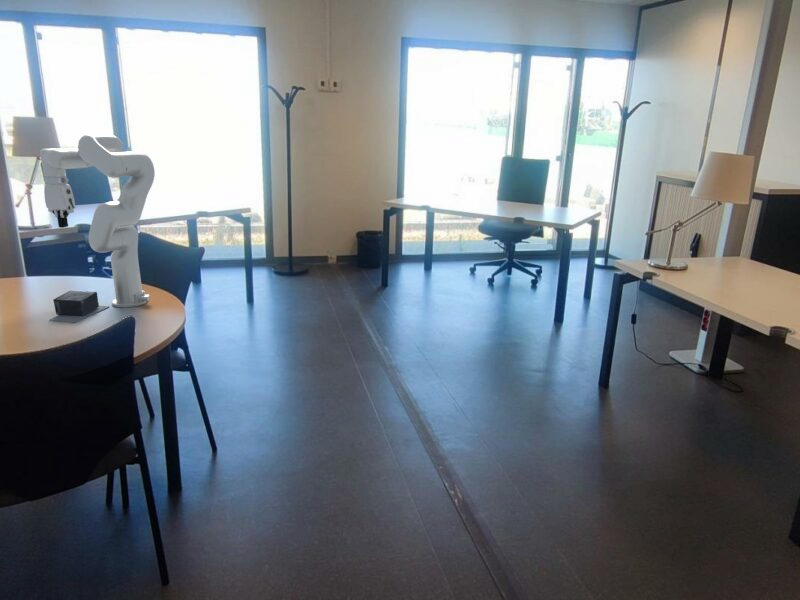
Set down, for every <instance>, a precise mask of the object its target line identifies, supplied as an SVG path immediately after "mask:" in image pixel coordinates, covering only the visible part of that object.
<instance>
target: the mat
mask: <svg viewBox="0 0 800 600" xmlns="http://www.w3.org/2000/svg"><path fill="white" fill-rule="evenodd" d="M109 308H110V306H109V305H99V307H97V308H96V309H94V310H92V311H91V312H89V313H88V314H86V315H84V316H74V315H56V316H54V317H51V318H49V319H48V321H49V322H50V321H51V322H59V323H69V324H76V323H79V322H81V321H83V320H84V319H87V318H90V317H91V316H94V315H96V314H98V313H100V312H102V311H105V310H107V309H109Z"/></svg>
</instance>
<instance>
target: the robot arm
mask: <svg viewBox="0 0 800 600" xmlns="http://www.w3.org/2000/svg"><path fill="white" fill-rule="evenodd" d="M77 145H78V146H77V148H51V147H50V148H49V147H48V148H42V149H40V152H39V155H40V161H41V166H42V172H43V179H44V188H43V189H44V190H43V191H44V192H43V193H44V202H45V207H46V208H47V210H48V212H50V213H52V214H53V215H54V216H55V218H57V225H58V228H62V229H63V228H67V227H69V223H68V217H69V215H70V214H73V213H74V212H75V211H74V210H75V209H76V202H75V197H74V193H73V190H72V186H71V185H70V184H68V183H69V178H68V177H67V172H66V170H69V169H84V168H89V167H95V168H96V169H97V170H98V171H99V172H100V173H102V174H103V175H104V176H106V177H109V178H112V179H113V178H125V177H129V179H128V180H126V182H125V184H123V186H122V188H121V191H120V194H119V197H118V199H117V200H113V201H108V202H103V203H101V204H99V205H98V206H97V207H96V209H95V210H94V213H93V216H92V221H91V224H90V227H89V228H90V229H89V231H88V243H89V246H90V248H91V249H92V250H93V251H94V252H96V253H101V254H102V253H103V254H104V253H108V252H109V253H110V252H112V254H111V256H110V257H111V258H110V263H111V271H112V279H113V286H114V294H115V299H113V300H112V301H111V304H112V306H114V307H117V308H133V307H138V306H143V305H145V304H146V303H148V302H149V301H150V300H151V294H146V291H145V290H143V287H142V280H141V270H140V264H139V253H138V250H139V249H138V247H139V246H138V245H139V232H138V230H137V228H136V227H135V226H134V225H137V224H138V223H139V221H140V219H141V217H142V213H143V212H144V211H143V210H144V208H145V204H146V201H147V197H148V194H149V192H150V190H151V188H152V186H153V183H154V180H155V167H154V163H153V161H152V159H151V158H150V157H149V155H148V154H146V153H144V152H138V151H123V150H124V144H123V142H122V140H121V139H120V138H119V137H117V136H115V135H113V134H109V133H106V134H105V133H95V134H92V133H89V134H88V133H87V134H85V135H84V134H83V136H81V137H80V139H79V140H78V144H77Z"/></svg>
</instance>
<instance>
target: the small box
mask: <svg viewBox="0 0 800 600" xmlns="http://www.w3.org/2000/svg"><path fill="white" fill-rule="evenodd" d="M53 306H54V309H55V315H56V316H58V315H74V316H84V315H86V314H88V313H89V312H91V311H92V310H94V309H96V308H97V307H99V306H100V304H99V298H98V291H79V290H69V291H67V292H65V293H63V294H61V295H59V296H57V297H55V298H54V299H53Z"/></svg>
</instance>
